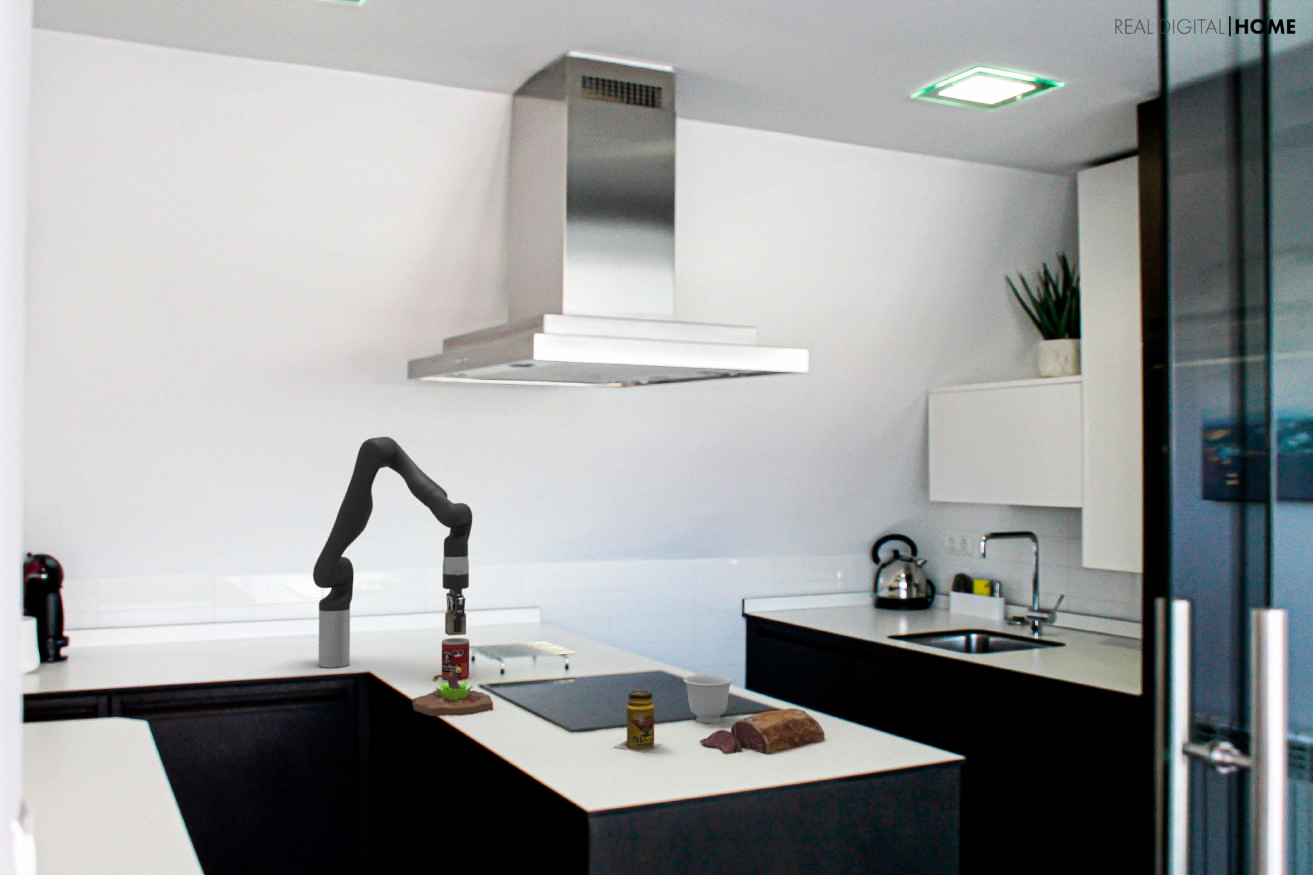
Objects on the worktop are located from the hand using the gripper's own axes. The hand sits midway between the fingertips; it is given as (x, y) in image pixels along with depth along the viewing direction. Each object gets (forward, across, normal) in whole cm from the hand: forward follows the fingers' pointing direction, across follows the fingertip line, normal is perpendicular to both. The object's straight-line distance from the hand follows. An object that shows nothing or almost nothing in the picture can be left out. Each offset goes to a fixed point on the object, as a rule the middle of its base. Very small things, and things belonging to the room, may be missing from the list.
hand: (455, 630), depth 320 cm
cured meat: (+14, +99, +46) cm, 110 cm away
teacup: (+14, +74, +45) cm, 88 cm away
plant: (+14, +37, -9) cm, 40 cm away
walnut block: (+1, 0, 0) cm, 1 cm away
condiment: (+14, +91, +20) cm, 94 cm away
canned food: (+14, 0, 0) cm, 14 cm away
